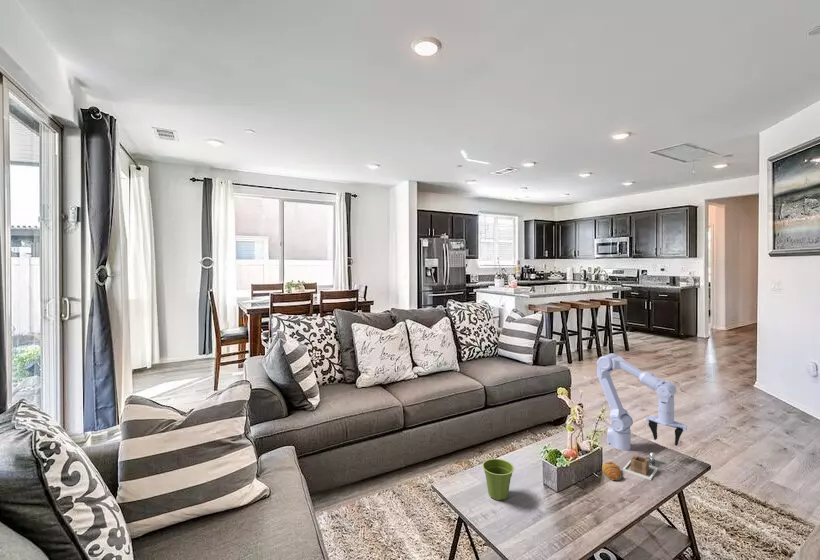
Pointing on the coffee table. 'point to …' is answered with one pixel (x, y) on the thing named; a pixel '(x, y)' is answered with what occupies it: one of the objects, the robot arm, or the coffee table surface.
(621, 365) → the robot arm
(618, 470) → the pastry
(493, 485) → the plant pot
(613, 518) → the coffee table surface
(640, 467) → the brown framed cube
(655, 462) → the grey base with peg
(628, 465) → the tray
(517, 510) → the coffee table surface
